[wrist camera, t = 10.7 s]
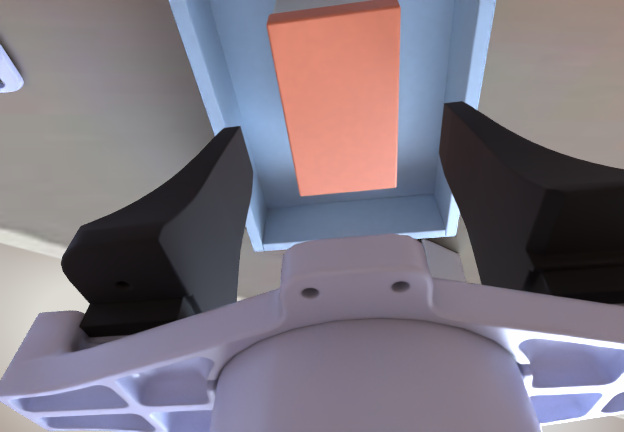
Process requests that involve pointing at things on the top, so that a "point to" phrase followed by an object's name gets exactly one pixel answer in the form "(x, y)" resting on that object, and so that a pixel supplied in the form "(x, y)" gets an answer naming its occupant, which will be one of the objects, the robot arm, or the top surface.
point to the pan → (273, 133)
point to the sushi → (339, 91)
